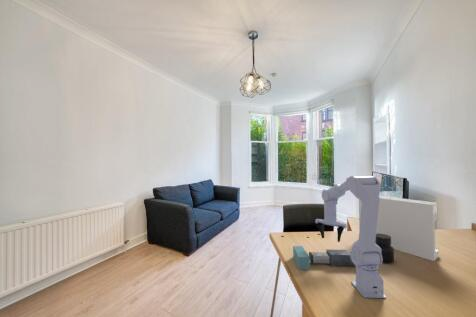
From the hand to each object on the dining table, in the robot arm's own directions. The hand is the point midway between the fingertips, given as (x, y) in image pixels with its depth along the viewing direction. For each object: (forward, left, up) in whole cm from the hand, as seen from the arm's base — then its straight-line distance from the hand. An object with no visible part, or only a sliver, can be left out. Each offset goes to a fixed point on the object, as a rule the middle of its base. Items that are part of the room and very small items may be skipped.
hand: (330, 239), depth 102 cm
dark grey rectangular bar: (-5, -4, -10) cm, 12 cm away
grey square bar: (-5, +3, -9) cm, 11 cm away
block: (+16, -43, -10) cm, 47 cm away
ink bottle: (0, -26, -10) cm, 28 cm away
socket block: (-5, +17, -10) cm, 20 cm away
